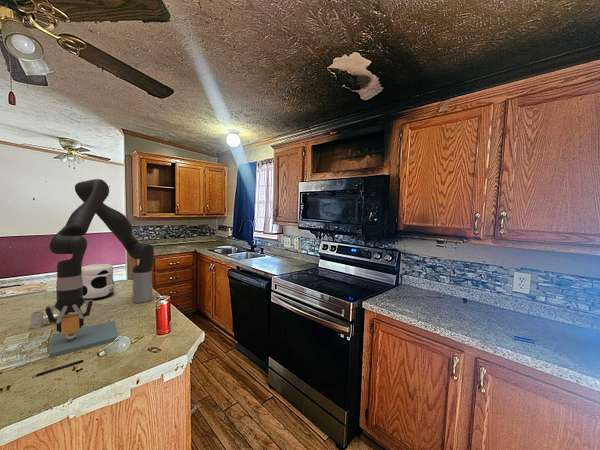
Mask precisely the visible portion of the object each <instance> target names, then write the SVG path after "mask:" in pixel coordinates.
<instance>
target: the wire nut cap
mask: <svg viewBox="0 0 600 450" xmlns="http://www.w3.org/2000/svg"><path fill="white" fill-rule="evenodd" d="M77 331H79V316H78V315H77V313H76V312H73V313H68V315H65V316H63V317H62V319H61V334H71V333H75V332H77Z"/></svg>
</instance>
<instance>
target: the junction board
mask: <svg viewBox="0 0 600 450" xmlns="http://www.w3.org/2000/svg"><path fill="white" fill-rule="evenodd" d="M118 333H119V332H118V329H117V325H116V321H115V320H113V321H112V320H111V321H108V322H102V323H98V324H93V325H89V326H84V327H83V326H82V327H81V328H79V331H77V332H75V334H76V339H75V340H73V341H67V335H68V334H61V332H59V331H58V332H55V333H53V337H52V341H51V345H50V350H49V356H48V357H49V358H54V357H58V356H62V355H66V354H70V353H73V352H74V353H75V352H78V351H82V350H86V349H90V348H93V347H97V346H102V345H105V344H108V343H113V341H114V340H115V339H116V338H117V337H118V338H119V334H118ZM114 342H115V341H114Z"/></svg>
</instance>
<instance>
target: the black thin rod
mask: <svg viewBox="0 0 600 450" xmlns="http://www.w3.org/2000/svg"><path fill="white" fill-rule="evenodd" d="M82 363H84V359H81V360H77V361H74V362H71V363H68V364H64V365H60V366H58V367H55V368H51V369H48V370H45V371H42V372H39V373H36V374H33V375H32V377H31V378H32V379H33V378H36V377H37V378H38V377H40V376H43V375H46V374H50V373H52V372H56V371H60V370H63V369H66V368H69V367H72V366H74V365H78V364H82Z"/></svg>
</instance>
